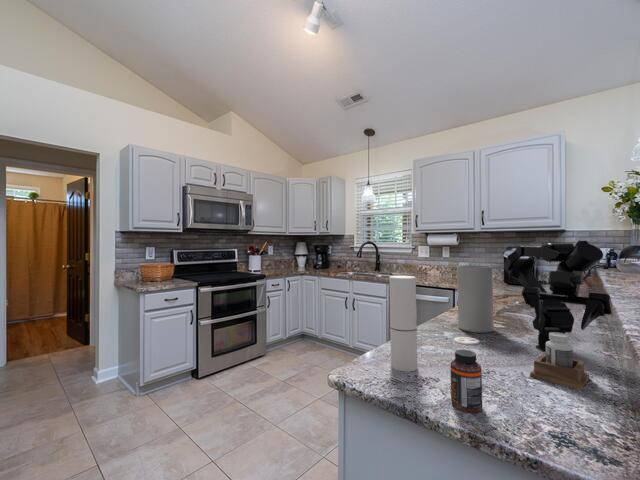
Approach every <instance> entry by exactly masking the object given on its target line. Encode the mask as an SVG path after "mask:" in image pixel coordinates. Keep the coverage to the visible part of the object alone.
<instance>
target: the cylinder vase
mask: <svg viewBox="0 0 640 480" xmlns="http://www.w3.org/2000/svg"><path fill="white" fill-rule="evenodd" d="M456 272H457V273H456V274H457V275H456V278H457V279H456V280H457V316H458V317H457V318H458V319H457V321H458V322H457V323H458V324H457V325H458V328H459V329H461V330H462V331H464V332H468V333H469V332H470V333H475V334H489V333H491V332H493V331H494V329H495V328H494V292H493V291H494V290H493V288H494V287H493V286H494V285H493V283H494V282H493V266H490V265H477V264H476V265H470V264H469V265H463V264H461V265H457V266H456Z"/></svg>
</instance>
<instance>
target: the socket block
mask: <svg viewBox="0 0 640 480" xmlns="http://www.w3.org/2000/svg"><path fill="white" fill-rule="evenodd" d="M585 364H586V363H585V361H582V360H577V359H574V358H573V369H571V368H567V367H563V366H558V365H554V364H550V363H546V352H542V353H541V354H540V355H539V356H538V357H537V358H536V359H534V361H533V369H532V370H531V371H530V372H529V377H530V378H534V379H536V380H541V381H545V382H547V383H548V382H549V383H552V384H556V385H559V386H563V387H566V388H570V389H574V390H577V391H582V390H584V389H583V388H584V387H585V385H586V384H587V382H588V380H589V379H590V373H588V372H587V373H586V369H585V367H586V365H585Z"/></svg>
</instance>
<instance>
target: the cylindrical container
mask: <svg viewBox="0 0 640 480" xmlns="http://www.w3.org/2000/svg"><path fill="white" fill-rule="evenodd" d="M388 277H389V318H390V319H389V320H390V321H389V323H390V327H389V328H390V333H389V334H390V338H389V339H390V367H391V368H392V369H393V370H395V371H399V372H415V371H416V370H417V369H418V339H417V338H418V332H417V331H418V330H417V327H418V326H417V321H418V320H417V278H416V276H413V275H390V276H388Z"/></svg>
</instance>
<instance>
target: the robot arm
mask: <svg viewBox="0 0 640 480" xmlns="http://www.w3.org/2000/svg"><path fill="white" fill-rule="evenodd" d="M521 257H522V258H521ZM523 257H524V258H523ZM525 257H528V258H525ZM603 257H604V253H603V251H602V250H601V249H600V248H598V246H596V245H593V244H591V243H589V242H588V241H587V240H578V241H577V242H576V244H575V245H574V243H571V242H557V243H556V242H555V243H554V242H553V243H552V242H551V243H550V242H549V243H545V244H542V245H531V244H529V245H528V244H523V245H522V244H521V245H517V247H516V249H515V250H514V251H513V252H511V253H510V254H508V255H507V256H506V259H505V260H504V263H503V268H504V270H505V272H506V273H507V274H508V275H509V276H510V277H512V278H514V279H516V280H518V281H519V282H520V285H521V286H522V287H523V288H522V290H521V295H522V297H523V300H524V302H525V304H526V305H528V306H530V307H531V308H533V309H534V313H535V316H536V317H535V318H534V319H533V320H532V326H533V329H534V330H537V331H538V335H537V339H538V340H537V341H538V343H537V345H535V348H537V349H540V350H541V351H544V352H546V342H547V341H550V339H549V333H550V332H558V333H564V334H566V333H569V334H571V333H572V331H573V327H574V323H575V317H574V315H573V313H572V312H571V308H569V307H568V306H567V305H566V304H570V305H578V306H580V305H581V306H585V308H584V312H583V314H582V318H581V322H580V323H581V324H580V329H581V330H582V331H584V330H585V329H586V328H587V327H588V326H589V325H590V324H591V323H592V322H593V321H594V320H596V319H598V317H604V316H605V315H606V316H607V315H612V314H613V303H612V299H611V298H612V296H611V295H610V294H609V293H606V292H597V291H596V292H595V291H589V292H588V297H587V296H579V295H580V291H581V285H583V284H584V273H585V272H588V271H589V270H591V269H592V268H593V267H595V266H596V265H597V263H599V261H601V260H602V259H603ZM534 258H542V261H546V262H549V263H558V264H557V268H556V269H555V270H550V271H549V273H548V284H549V290H550V291H551V292H547V291H546V289H545V288H544V287H543V285H542V284H541V283H540V280H538V279H537V277H536V276H535V275H534V273H533V269H534V266H535V264H536V261H535V259H534Z"/></svg>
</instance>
